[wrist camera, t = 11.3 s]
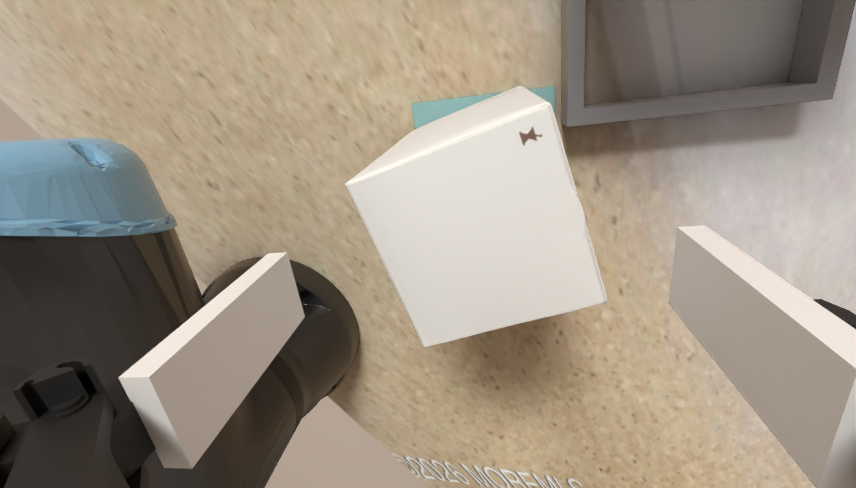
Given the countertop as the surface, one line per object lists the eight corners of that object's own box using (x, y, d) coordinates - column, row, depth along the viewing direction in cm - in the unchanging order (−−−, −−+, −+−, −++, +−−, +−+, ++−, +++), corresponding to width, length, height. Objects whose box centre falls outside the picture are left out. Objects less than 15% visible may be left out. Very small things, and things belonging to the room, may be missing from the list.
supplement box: (405, 130, 30) (335, 178, 16) (523, 82, 28) (555, 91, 14) (448, 237, 33) (419, 354, 19) (558, 202, 31) (614, 306, 17)
